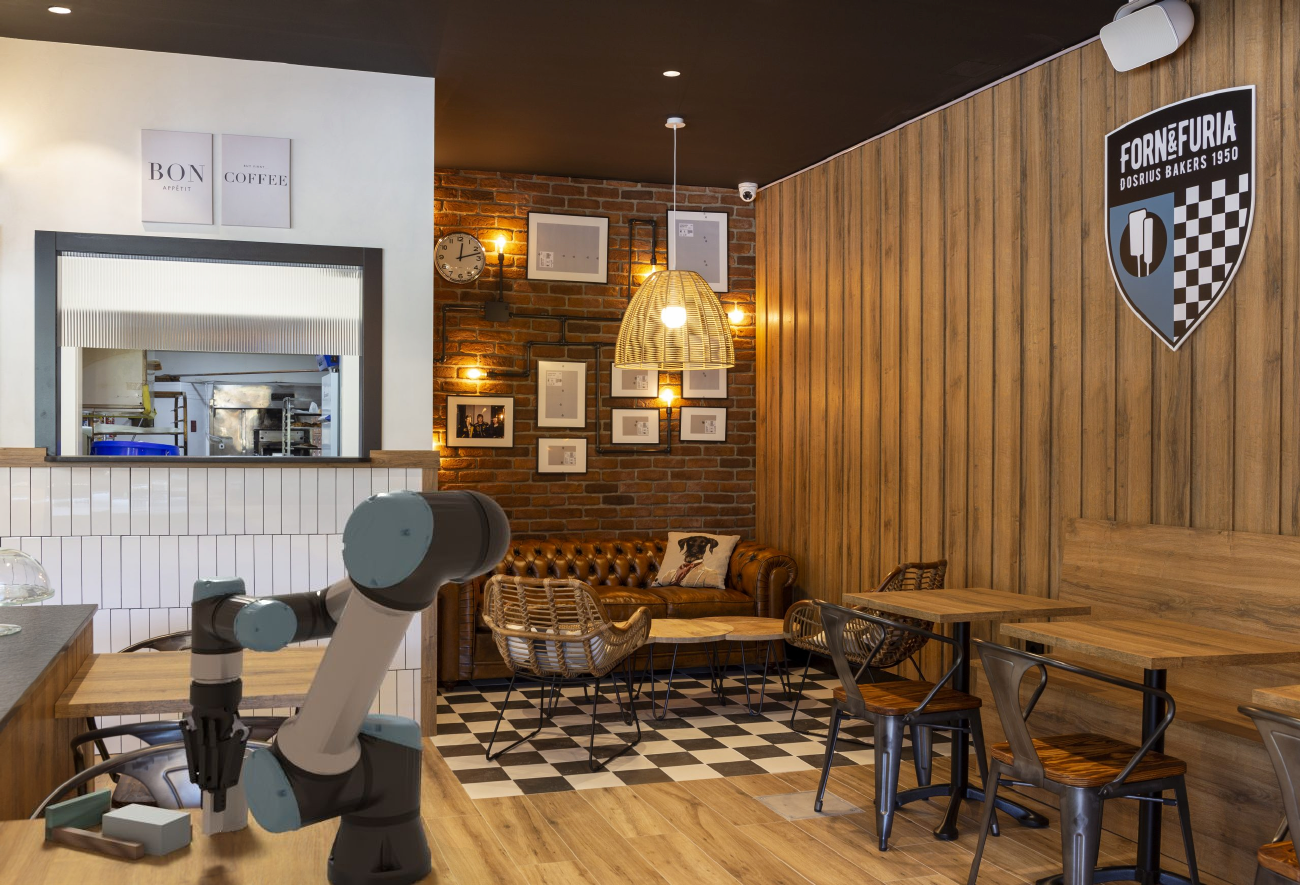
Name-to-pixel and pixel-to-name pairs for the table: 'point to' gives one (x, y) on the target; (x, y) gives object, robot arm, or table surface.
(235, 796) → the cup
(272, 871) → the table surface
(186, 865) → the table surface
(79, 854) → the table surface
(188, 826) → the block
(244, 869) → the table surface
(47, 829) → the brown green u-shaped frame
